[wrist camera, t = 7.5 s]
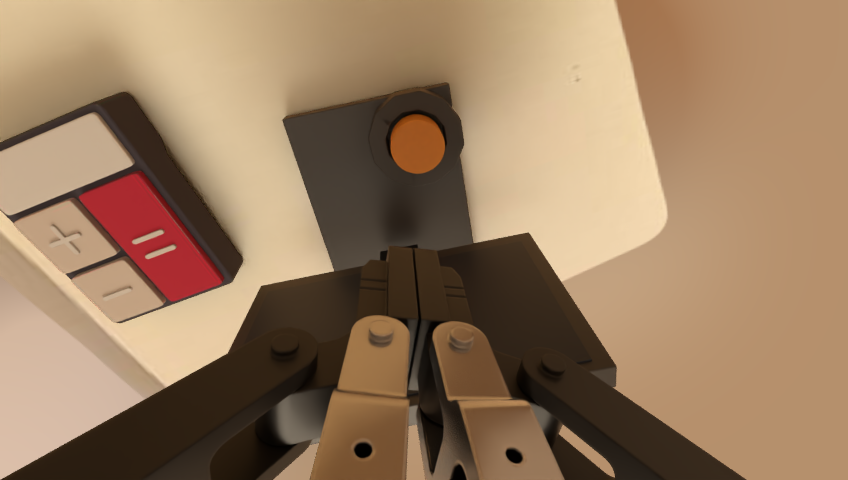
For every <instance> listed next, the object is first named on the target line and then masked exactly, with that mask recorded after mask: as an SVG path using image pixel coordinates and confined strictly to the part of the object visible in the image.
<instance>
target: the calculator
mask: <svg viewBox="0 0 848 480" xmlns="http://www.w3.org/2000/svg"><path fill="white" fill-rule="evenodd" d="M0 210H1V211H2V212H3V213H4V214H5V215H6V216H7V217H8V218H9V219H10V220H11V221H12V222H13V223H14V226H15V227H16V228H17V229H18V230H19V231H20V232H21V233H22V234H23V235H24V236H25V237H26V238H27V239H28V240H29V241H30V242H31V243H32V244H33V245H34V246H35V247H36V248H37V249H38V250H39V251H40V252H41V253H42V254H43V255H44V256H45V257H46V258H47V259H48V260H50V261H51V262H52V263H53V264H54V265H55V266H56V267H57V268H58V269H59V270H60V271H61V272H62V273H65V274H66V275H67V276H68V277H69V278H70V279H71V281H72V283H73V284H74V285H75V286H76V287H77V288H78V289H79V290H80V291H81V292H82V293H83V294H84V295H85V296H86V297H87V298H88V299H89V300H90V301H91V302H92V303H93V304H94V305H95V306H97V307H98V308H99V309H100V310H101V311H102V312H103V313H104V314H105V315H106V316H107V317H108V318H109V319H110V320H111V321H112V322H116V323H123V322H126V321H128V320H131V319H134V318H137V317H139V316H142V315H145V314H147V313H150V312H153V311H156V310H158V309H161V308H164V307H167V306H169V305H172V304H175V303H178V302H180V301H183V300H186V299H188V298H191V297H194V296H197V295H199V294H202V293H205V292H208V291H210V290H213V289H216V288H219V287H221V286H224V285H227V284H229V283H231V282H232V281H233V280H234V278H235V276H236V274H237V272H238V270H239V268H240V267H241V265H242V263H243V260H242V258H241V256H240V255H239V253H238V252H237V251H236V249H235V248H234V247H233V245H232V244H231V242H230V241H229V240H228V238H227V237H226V235H225V234H224V233H223V231H222V230H221V228H220V227H219V226H218V224H217V223H216V222H215V220H214V219H213V217H212V216H211V215H210V213H209V212H208V210H207V209H206V208H205V206H204V205H203V203H202V202H201V201H200V199H199V198H198V197H197V195H196V194H195V192H194V191H193V190H192V188H191V187H190V185H189V184H188V183H187V181H186V180H185V179H184V177H183V176H182V174H181V173H180V172H179V170H178V169H177V167H176V166H175V165H174V163H173V162H172V160H171V159H170V158H169V156H168V155H167V153H166V150H165V147H164V144H163V141H162V139H161V137H160V136H159V135H158V133H157V132H156V130H155V129H154V128H153V126H152V125H151V123H150V122H149V121H148V119H147V118H146V116H145V115H144V114H143V112H142V111H141V109H140V108H139V107H138V105H137V104H136V102H135V101H134V100H133V98H132V97H131V96H130V95H129V94H128V93H125V92H121V93H118V94H115V95H112V96H110V97H107V98H104V99H101V100H99V101H96V102H93V103H91V104H88V105H86V106H84V107H81V108H79V109H77V110H75V111H72V112H70V113H68V114H65V115H63V116H61V117H58V118H56V119H54V120H51V121H49V122H47V123H44V124H42V125H40V126H37V127H35V128H33V129H30V130H28V131H26V132H23V133H21V134H19V135H17V136H14V137H12V138H10V139H7V140H5V141H3V142H0Z"/></svg>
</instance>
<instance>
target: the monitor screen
mask: <svg viewBox="0 0 848 480" xmlns="http://www.w3.org/2000/svg"><path fill="white" fill-rule="evenodd" d="M437 253H438V258H439V263H440V266H442V267H452V268H453V269H454V270H455V271H456V272H457V274H458V275H459V276H460V277H461V279H462V283H463V287H464V290H465V294H466V298H467V301H468V305H469V309H470V312H471V316H472V320H473V323H474V327H476V328H478V329H479V330H480V331H481V332H482V333H484V335H485V336H486V337H487V339H488V342H489V344H490V346H491V348H492V349H494V350H496V351H498V352H501V353H504V354H507V355H510V356H513V357H517V358H520V359H522V358H523V355H524V353H525V352H526V351H527V350H529V349H531V348H535V347H545V348H550V349H553V350H556V351H558V352H560V353H562V354H564V355H566V356H567V357H569V358H570V359H572V360H573V361H575V362H576V363H577V364H579V365H580V366H582V367H583V368H585V369H586V370H588V371H589V372H591V373H592V374H593V375H595V376H596V377H598V378H599V379H601V380H602V381H604V382H605V383H607V384H608V385H609V386H611V387H615V386H616V369H617V368H616V365H615V363H614V362H613V360H612V359H611V357H610V356H609V354H608V353H607V351H606V350H605V348H604V346H603V345H602V343H601V342H600V340H599V339H598V337H597V336H596V334H595V333H594V331H593V330H592V328H591V327H590V325H589V324H588V322H587V321H586V319H585V317H584V316H583V315H582V313H581V311H580V310H579V309H578V307H577V305H576V304H575V302H574V301H573V299H572V298H571V296H570V295H569V293H568V292H567V290H566V289H565V287H564V285H563V284H562V282H561V281H560V279H559V278H558V276H557V275H556V273H555V272H554V270H553V269H552V267H551V266H550V264H549V263H548V261H547V260H546V258H545V256H544V255H543V253H542V252H541V250H540V249H539V247H538V246H537V244H536V243H535V241H534V240H533V238H532V237H531V235H530V234H529V233H523V234H518V235H513V236H508V237H503V238H498V239H493V240H488V241H483V242H478V243H473V244H468V245H463V246H458V247H453V248H449V249H444V250H439V251H437ZM362 267H363V266H359V267H354V268H349V269H344V270H339V271H334V272H329V273H324V274H319V275H314V276H309V277H304V278H299V279H294V280H289V281H284V282H279V283H274V284H269V285H264V286H261V288H260V290H259V292H258V294H257V296H256V298H255V300H254V302H253V304H252V306H251V308H250V310H249V312H248V314H247V316H246V318H245V320H244V322H243V324H242V326H241V328H240V330H239V332H238V334H237V336H236V338H235V340H234V342H233V344H232V346H231V348H230V350H229V352H228V353H230V352H231V351H233V350H235V349H237V348H239V347H240V346H242V345H244V344H246V343H248V342H249V341H251V340H253V339H255V338H257V337H258V336H260V335H262V334H264V333H266V332H268V331H270V330H273V329H277V328H284V327H292V328H298V329H302V330H305V331H307V332H309V333H310V334H311V335H313V336H314V338H315V339H316V341H317V343H319V342H325V341H330V340H335V339H338V338H340V337H342V336H344V335H346V334H347V333H348V332H350V331H351V330H352V327H353V326H354V324H355V322H356V315H357V307H358V299H359V290H360V282H361V273H362ZM407 397H409V425H408V426H411V425H417V421H416V412H417V407H418V402H419V392H418V391H417V390H408V381H407ZM319 441H320V438H316V439H312V442H311V444H316V443H319ZM311 444H310V445H311Z"/></svg>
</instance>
